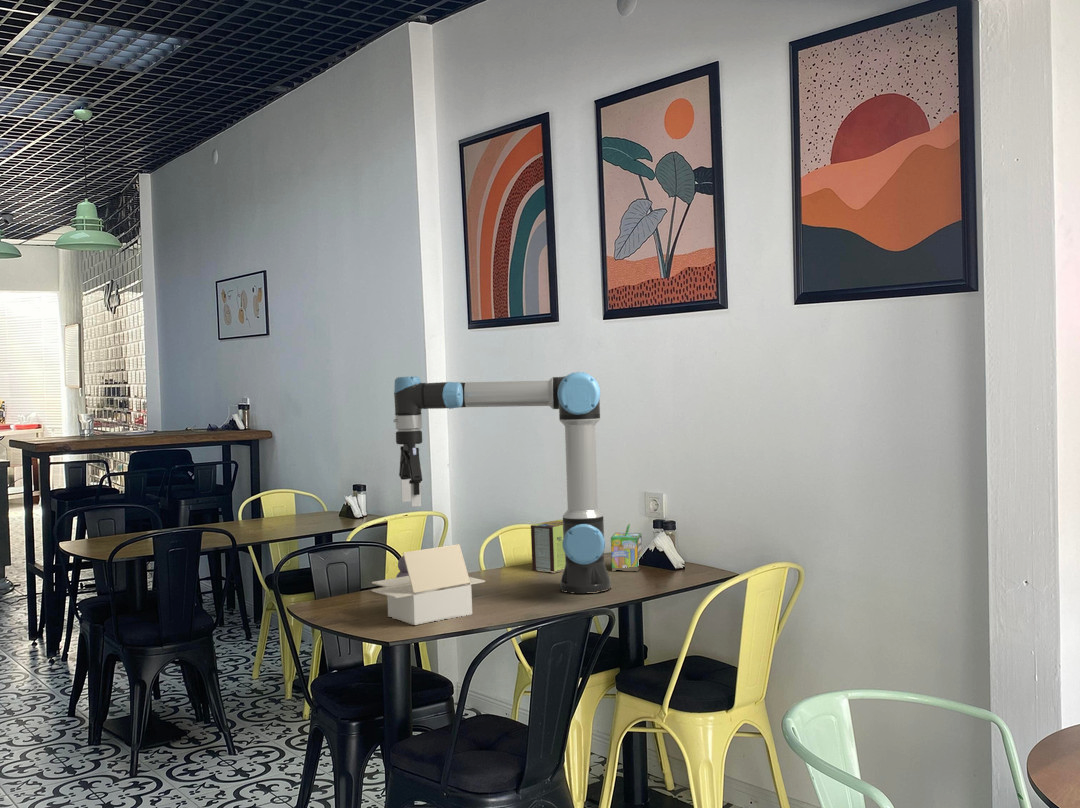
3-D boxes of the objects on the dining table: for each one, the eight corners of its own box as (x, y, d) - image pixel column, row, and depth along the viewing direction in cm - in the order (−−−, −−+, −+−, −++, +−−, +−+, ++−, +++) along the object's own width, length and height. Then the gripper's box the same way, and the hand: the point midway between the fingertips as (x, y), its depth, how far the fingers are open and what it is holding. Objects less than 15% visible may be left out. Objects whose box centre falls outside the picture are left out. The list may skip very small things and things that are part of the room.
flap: (402, 552, 254) (403, 552, 254) (458, 544, 265) (459, 544, 265) (413, 593, 251) (413, 592, 250) (469, 583, 261) (470, 582, 261)
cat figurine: (420, 596, 287) (419, 556, 286) (394, 597, 287) (392, 557, 287) (424, 590, 295) (423, 551, 295) (398, 591, 295) (397, 552, 295)
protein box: (585, 566, 326) (583, 521, 326) (554, 574, 315) (552, 526, 315) (562, 563, 333) (560, 519, 333) (531, 570, 322) (529, 524, 322)
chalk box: (616, 566, 324) (614, 522, 324) (643, 567, 322) (641, 522, 322) (610, 571, 315) (609, 526, 315) (638, 572, 313) (637, 526, 313)
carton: (355, 615, 265) (354, 584, 265) (442, 598, 282) (441, 570, 282) (397, 629, 247) (396, 597, 247) (487, 611, 264) (486, 580, 264)
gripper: (387, 429, 288) (390, 500, 288) (404, 432, 264) (407, 509, 265) (412, 428, 290) (415, 498, 291) (431, 430, 267) (434, 507, 267)
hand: (411, 504), depth 278 cm, fingers open, 13 cm apart
